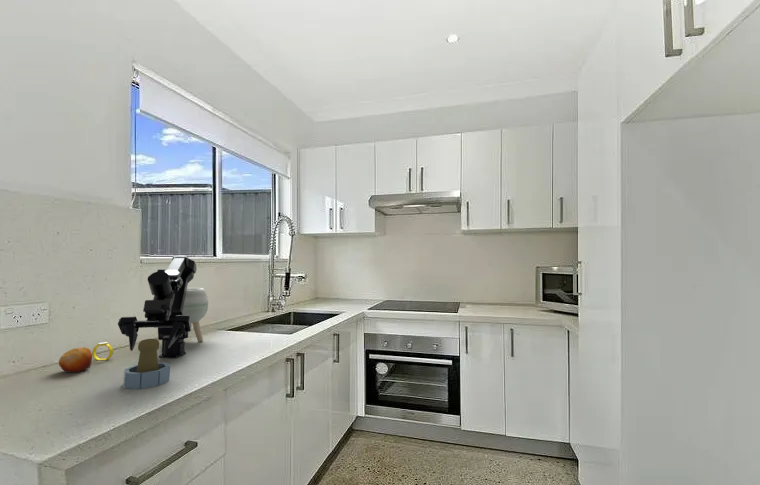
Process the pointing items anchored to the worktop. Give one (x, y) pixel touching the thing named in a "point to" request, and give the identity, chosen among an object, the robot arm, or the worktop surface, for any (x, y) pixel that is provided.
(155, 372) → the bowl
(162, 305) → the robot arm
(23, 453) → the worktop surface
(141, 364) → the cork
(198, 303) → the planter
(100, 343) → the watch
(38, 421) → the worktop surface
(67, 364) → the fruit
